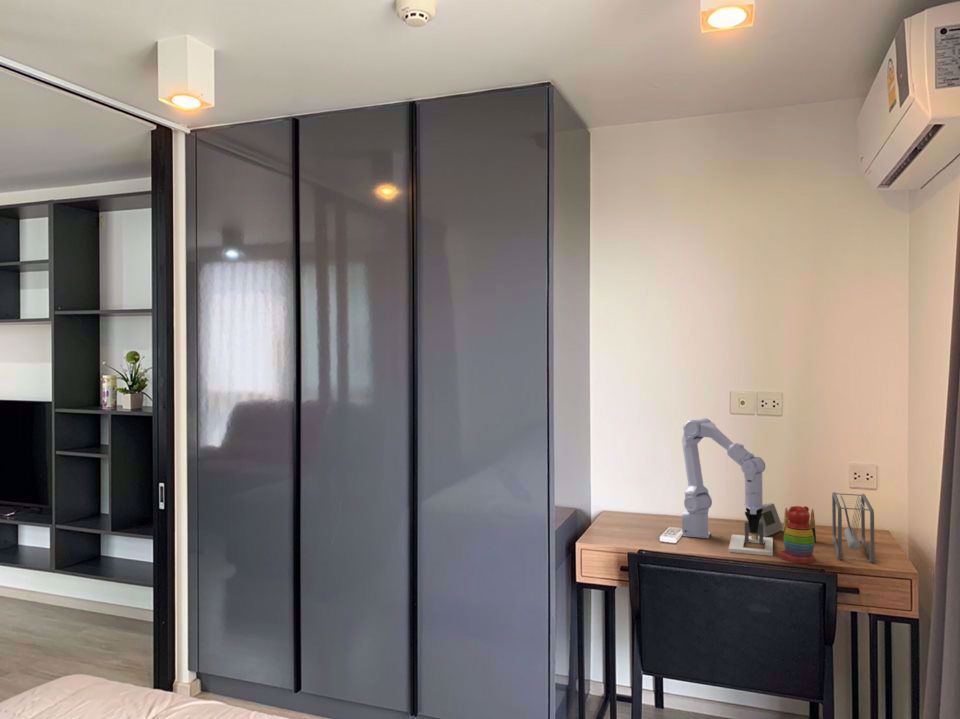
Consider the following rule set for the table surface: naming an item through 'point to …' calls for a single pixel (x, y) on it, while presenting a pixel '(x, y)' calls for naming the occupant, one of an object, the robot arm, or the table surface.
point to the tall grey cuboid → (760, 532)
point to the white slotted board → (739, 540)
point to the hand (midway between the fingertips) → (754, 530)
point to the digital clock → (770, 520)
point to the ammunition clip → (811, 523)
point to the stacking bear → (798, 537)
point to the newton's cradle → (850, 532)
